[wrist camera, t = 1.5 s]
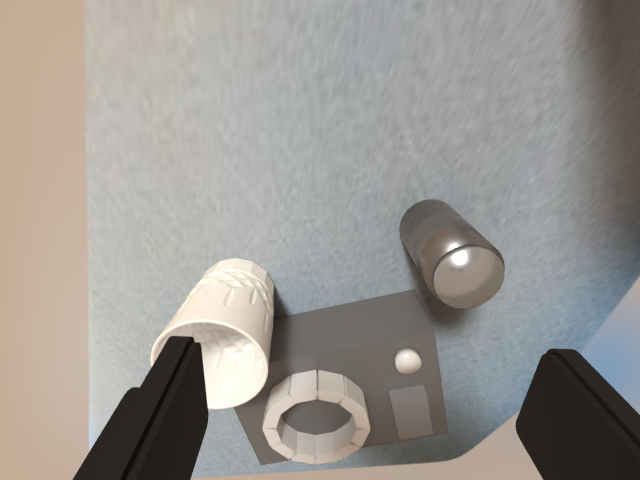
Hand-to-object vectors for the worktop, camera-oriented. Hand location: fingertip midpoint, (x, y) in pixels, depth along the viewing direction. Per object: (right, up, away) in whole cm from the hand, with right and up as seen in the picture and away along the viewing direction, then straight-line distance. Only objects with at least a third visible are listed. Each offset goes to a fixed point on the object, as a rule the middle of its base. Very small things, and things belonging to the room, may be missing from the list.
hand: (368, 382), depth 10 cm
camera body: (0, -8, +27) cm, 28 cm away
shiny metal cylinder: (+8, +5, +21) cm, 23 cm away
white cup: (-9, -1, +24) cm, 25 cm away
